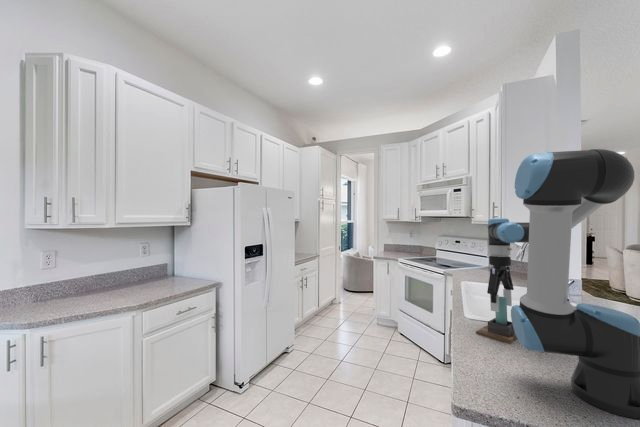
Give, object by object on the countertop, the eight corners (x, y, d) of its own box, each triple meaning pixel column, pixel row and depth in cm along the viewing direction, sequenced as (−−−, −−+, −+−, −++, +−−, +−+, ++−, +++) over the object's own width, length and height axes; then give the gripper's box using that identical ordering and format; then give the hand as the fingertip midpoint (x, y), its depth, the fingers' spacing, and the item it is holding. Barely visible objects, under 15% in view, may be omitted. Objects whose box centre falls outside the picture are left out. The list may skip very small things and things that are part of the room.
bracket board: (509, 344, 104) (509, 330, 104) (476, 334, 113) (475, 321, 114) (522, 334, 112) (521, 321, 113) (490, 326, 122) (489, 314, 122)
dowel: (505, 335, 109) (504, 299, 110) (494, 331, 113) (493, 297, 113) (509, 332, 112) (508, 297, 112) (498, 329, 115) (497, 295, 115)
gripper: (497, 258, 103) (500, 316, 101) (520, 254, 118) (522, 305, 117) (476, 256, 109) (478, 311, 107) (501, 253, 124) (502, 301, 123)
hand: (501, 308), depth 112 cm, fingers open, 13 cm apart
